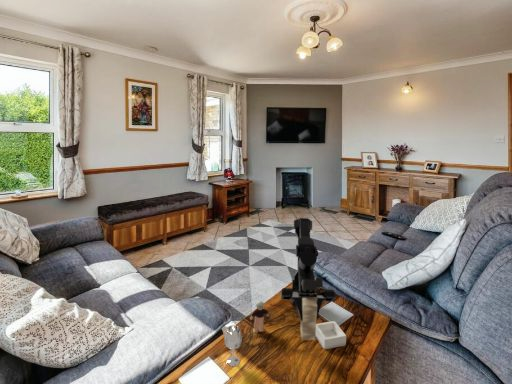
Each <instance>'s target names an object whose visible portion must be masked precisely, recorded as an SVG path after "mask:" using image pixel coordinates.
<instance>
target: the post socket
mask: <svg viewBox="0 0 512 384" xmlns="http://www.w3.org/2000/svg"><path fill="white" fill-rule="evenodd" d="M315 339H317V341H318V343H319V344H320V346H321V347H322V348H323V350H327V349H328V350H329V349H333V348H338V347H339V348H340V347H344V346H346V345H347V344H346V343H347V335H346V334H345V332H344V331H343V329H341V327H340V326H339V324H337V322H336V321H335V320H333V321H327V322H326V321H325V322H321V323H316V334H315Z"/></svg>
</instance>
